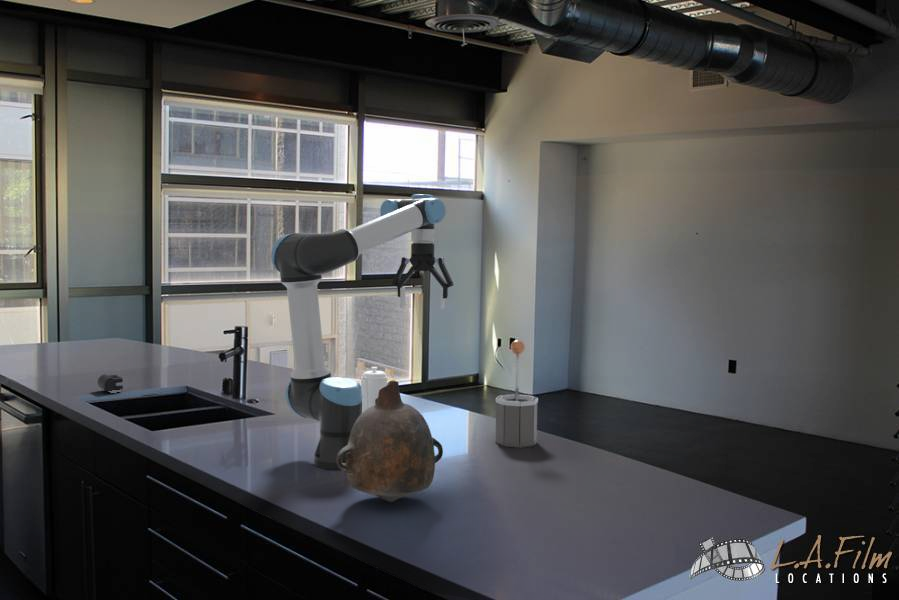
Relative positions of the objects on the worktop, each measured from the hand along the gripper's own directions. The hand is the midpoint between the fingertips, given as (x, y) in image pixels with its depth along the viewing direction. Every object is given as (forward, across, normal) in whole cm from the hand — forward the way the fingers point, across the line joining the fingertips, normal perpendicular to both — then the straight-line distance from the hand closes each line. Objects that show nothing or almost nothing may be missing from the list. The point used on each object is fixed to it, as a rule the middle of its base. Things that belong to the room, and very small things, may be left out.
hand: (422, 308), depth 268 cm
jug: (+41, -15, +71) cm, 84 cm away
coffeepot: (+41, +21, -10) cm, 47 cm away
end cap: (+41, +141, -26) cm, 149 cm away
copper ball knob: (+30, -33, +5) cm, 44 cm away
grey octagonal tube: (+41, -33, +3) cm, 52 cm away
